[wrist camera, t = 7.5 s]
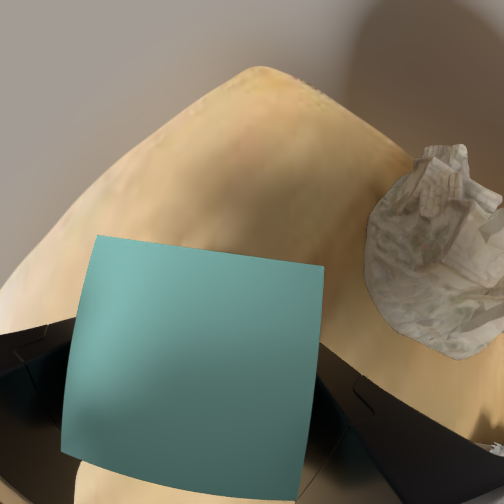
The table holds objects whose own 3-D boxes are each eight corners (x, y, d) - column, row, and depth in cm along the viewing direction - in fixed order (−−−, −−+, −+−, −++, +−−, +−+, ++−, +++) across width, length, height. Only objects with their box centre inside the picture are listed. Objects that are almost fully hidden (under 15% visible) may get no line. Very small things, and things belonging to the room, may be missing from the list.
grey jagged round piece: (468, 382, 20) (607, 345, 7) (326, 287, 24) (426, 158, 10) (501, 253, 26) (589, 181, 12) (392, 169, 29) (455, 56, 16)
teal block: (255, 413, 14) (296, 500, 4) (169, 400, 14) (60, 451, 4) (266, 331, 16) (324, 266, 6) (181, 318, 16) (97, 235, 6)
